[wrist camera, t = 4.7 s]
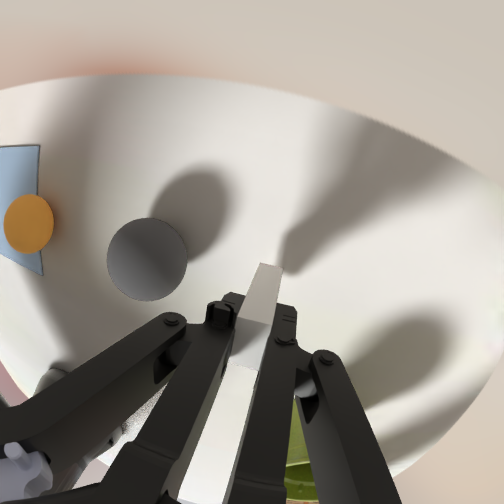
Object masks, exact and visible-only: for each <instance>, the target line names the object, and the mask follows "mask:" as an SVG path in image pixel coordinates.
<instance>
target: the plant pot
mask: <svg viewBox="0 0 504 504" xmlns="http://www.w3.org/2000/svg"><path fill="white" fill-rule="evenodd" d="M284 486H285V487H286V488H287V500H294V501H305V502H316V501H318V496H317V492H316V487H315V483H314V479H313V474H312V470H311V465H310V461H309V457H308V452H307V448H306V444H305V439H304V435H303V431H302V426H301V422H300V418H299V414H298V409H297V405H296V401H295V400H294V401H293V410H292V420H291V430H290V438H289V447H288V455H287V463H286V470H285V478H284Z"/></svg>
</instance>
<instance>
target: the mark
mask: <svg viewBox="0 0 504 504" xmlns="http://www.w3.org/2000/svg"><path fill="white" fill-rule="evenodd" d="M39 147H40V146H22V147H4V148H0V254H2V255H3V256H5V257H7V258H9V259H11V260H13V261H14V262H16V263H18V264H20V265H22V266H24V267H26V268H28V269H30V270H32V271H34V272H36V273H38V274H40V275H43V271H42V263H41V255H40V250H39V251H37V252H35V253H31V254H24V253H20V252H18V251H16V250H15V249H13V248H12V247H11V246H10V244H9V243H8V241H7V239H6V237H5V234H4V228H3V223H4V217H5V213H6V211H7V209H8V207H9V206H10V204H11V203H12V202H13V201H14V200H15V199H17V198H18V197H20V196H22V195H26V194H33V195H37V180H38V159H39Z"/></svg>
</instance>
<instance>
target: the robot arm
mask: <svg viewBox="0 0 504 504" xmlns="http://www.w3.org/2000/svg"><path fill="white" fill-rule="evenodd" d="M282 272H283V268H281V267H277V266H272V265H268V264H264V263H260V264H259V266H258V268H257V271H256V273H255V276H254V278H253V280H252V283H251V285H250V287H249V290H248V292H247V295H246V296H244V295H241V294H237V293H233V292H229V293H228V294H226V295H224V297H223V298H222V301H213V302H210V303H209V304H208V305H207V311H206V318H205V322H204V323H203V324H188V323H186V322H187V320H186V319H185V317H184V316H182V315H181V314H178V313H174V312H166V313H163V314H160V315H159V316H157V317H156V318H154V319H153V320H151V321H149V322H148V323H146V324H145V325H143V326H142V327H140V328H139V329H137V330H135V331H134V332H132V333H131V334H129V335H128V336H126V337H125V338H123V339H122V340H120V341H118V342H117V343H115V344H114V345H112V346H111V347H109V348H108V349H106V350H104V351H103V352H101V353H100V354H98V355H97V356H95V357H94V358H92V359H90V360H89V361H87V362H86V363H84V364H83V365H81V366H80V367H78V368H76V369H75V370H73V371H72V372H70V373H69V374H68V373H66V372H64V371H62V370H59V369H55V368H52V369H50V370H48V371H47V372H46V373H45V374H44V375H43V376H42V378H41V379H40V381H39V383H38V386H37V388H36V390H35V393H34V395H33V397H31V398H30V399H28V400H27V401H25V402H23V403H22V404H20V405H17V406H13V407H11V406H10V404H9V403H8V402H7V400H6V399H5V398H4V396H3V395H2V393H1V392H0V504H181V503H180V502H178V501H177V497H178V494H179V490H180V487H181V484H182V481H183V479H184V476H185V474H186V472H187V469H188V467H189V464H190V462H191V459H192V457H193V454H194V451H195V449H196V446H197V444H198V441H199V439H200V436H201V434H202V431H203V429H204V426H205V423H206V421H207V418H208V416H209V413H210V411H211V408H212V405H213V403H214V400H215V398H216V395H217V392H218V390H219V387H220V385H221V382H222V379H223V377H224V374H225V371H226V367H227V362H228V363H231V364H234V365H238V366H242V367H246V368H250V369H254V370H258V375H257V378H256V381H255V385H254V388H253V389H254V390H253V394H252V398H251V402H250V406H249V410H248V414H247V417H246V421H245V425H244V429H243V433H242V436H241V440H240V444H239V447H238V451H237V455H236V458H235V462H234V465H233V469H232V472H231V476H230V479H229V483H228V486H227V489H226V493H225V496H224V499H223V502H222V504H286V499H287V488H286V487H285V486H284V478H285V470H286V463H287V455H288V447H289V438H290V430H291V420H292V410H293V400H294V395H295V401H296V405H297V409H298V414H299V418H300V422H301V426H302V431H303V435H304V439H305V444H306V448H307V452H308V457H309V461H310V465H311V470H312V474H313V479H314V483H315V487H316V492H317V496H318V501H319V504H402V502H401V500H400V497H399V494H398V492H397V489H396V487H395V484H394V482H393V479H392V477H391V474H390V472H389V469H388V467H387V464H386V462H385V459H384V457H383V454H382V452H381V450H380V447H379V445H378V442H377V440H376V438H375V435H374V433H373V431H372V428H371V426H370V424H369V421H368V419H367V417H366V414H365V412H364V410H363V407H362V405H361V403H360V401H359V398H358V396H357V394H356V392H355V389H354V387H353V385H352V383H351V381H350V378H349V376H348V374H347V372H346V370H345V367H344V365H343V363H342V361H341V359H340V358H339V356H338V355H336V354H335V353H333V352H331V351H329V350H317V351H315V352H314V353H313V354H311V353H308V352H306V351H304V350H303V349H301V348H300V347H299V346H298V342H297V340H296V325H297V311H296V310H295V308H294V307H293V306H288V305H284V304H280V303H277V298H278V293H279V288H280V283H281V277H282ZM228 360H229V361H228ZM167 383H168V384H167ZM166 384H167V386H166V387H165V389H164V391H163V393H162V394H161V396H160V398H159V399H158V401H157V403H156V404H155V406H154V408H153V409H152V411H151V413H150V415H149V416H148V418H147V420H146V421H145V423H144V425H143V426H142V428H141V430H140V432H139V433H138V435H137V437H136V438H135V440H133V441H131V442H127V443H125V444H124V445H123V447H122V448H121V450H120V451H119V453H118V455H117V456H116V458H115V459H114V461H113V463H112V464H111V466H110V468H109V469H108V471H107V473H106V475H105V476H104V478H103V480H102V481H101V482H99V483H94V484H90V485H87V486H83V487H80V488H76V489H72V488H73V487H74V485H75V483H76V482H77V480H78V479H79V477H80V476H81V474H82V472H83V471H84V470H85V468H86V467H87V465H88V464H89V463H90V462H91V461H92V460H94V459H95V458H97V457H98V456H100V455H101V454H103V453H104V452H106V451H107V450H108V449H110V448H111V447H113V446H114V445H115V444H116V443H117V442H118V440H119V438H120V437H121V435H122V427H121V424H122V423H123V422H124V421H126V420H127V419H128V418H129V417H130V416H131V415H132V414H133V413H135V412H136V411H137V410H138V409H139V408H140V407H141V406H142V405H144V404H145V403H146V402H147V401H148V400H149V399H150V398H151V397H152V396H154V395H155V394H156V393H157V392H158V391H159V390H160V389H161V388H162V387H163V386H164V385H166Z"/></svg>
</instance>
